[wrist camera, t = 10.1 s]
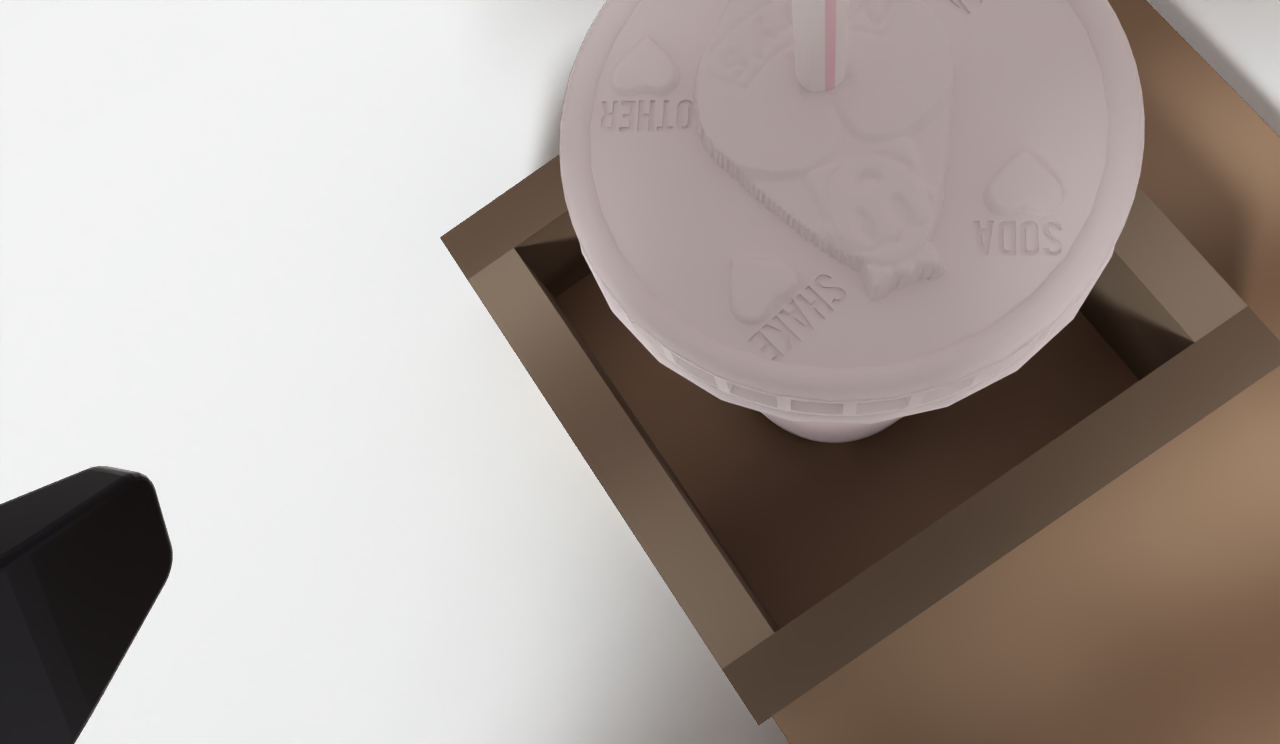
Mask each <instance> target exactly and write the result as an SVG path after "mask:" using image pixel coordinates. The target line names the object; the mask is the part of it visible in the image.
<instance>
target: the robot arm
mask: <svg viewBox="0 0 1280 744" xmlns="http://www.w3.org/2000/svg"><path fill="white" fill-rule="evenodd" d="M172 560H173V551H172V546H171V542H170V539H169V535H168V532H167V528H166V525H165V521H164V518H163V514H162V511H161V508H160V504H159V501H158V497H157V494H156V490H155V488H154V485H153V483H152V482H151V481H150V480H149V479H148V477H147V476H145V475H143V474H141V473H139V472H134V471H129V470H124V469H118V468H113V467H108V466H97V467H92V468H89V469H86V470H84V471H81V472H79V473H76V474H74V475H71V476H69V477H66V478H64V479H61V480H59V481H57V482H54V483H52V484H49V485H47V486H44V487H42V488H39V489H37V490H34V491H32V492H29V493H27V494H25V495H22V496H20V497H17V498H15V499H12V500H10V501H7V502H5V503H2V504H0V744H74V743H75V742H76V740H77V738H78V737H79V735H80V733H81V732H82V730H83V728H84V727H85V725H86V723H87V722H88V720H89V718H90V717H91V715H92V713H93V711H94V710H95V708H96V706H97V704H98V703H99V701H100V699H101V697H102V695H103V694H104V692H105V690H106V688H107V686H108V685H109V683H110V681H111V679H112V678H113V676H114V674H115V672H116V670H117V669H118V667H119V665H120V663H121V661H122V660H123V658H124V656H125V654H126V653H127V651H128V649H129V647H130V645H131V644H132V642H133V640H134V638H135V636H136V635H137V633H138V631H139V629H140V628H141V626H142V624H143V622H144V620H145V619H146V617H147V615H148V613H149V611H150V610H151V608H152V606H153V604H154V603H155V601H156V599H157V597H158V595H159V594H160V592H161V590H162V588H163V587H164V585H165V583H166V581H167V578H168V576H169V573H170V570H171V566H172Z"/></svg>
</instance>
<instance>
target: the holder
mask: <svg viewBox="0 0 1280 744" xmlns="http://www.w3.org/2000/svg"><path fill="white" fill-rule="evenodd" d="M1108 2H1109V4H1110V5H1111V7H1112V9H1113V10H1114V12H1115V13H1116V15H1117V17H1118V19H1119V22H1120V24H1121V26H1122V28H1123V30H1124V32H1125V34H1126V37H1127V39H1128V41H1129V44H1130V47H1131V50H1132V53H1133V56H1134V59H1135V62H1136V65H1137V70H1138V75H1139V79H1140V84H1141V89H1142V96H1143V106H1144V116H1145V129H1144V151H1143V159H1142V166H1141V173H1140V177H1139V181H1138V185H1137V190H1136V194H1135V198H1134V201H1133V204H1132V206H1131V209H1130V212H1129V215H1128V217H1127V220H1126V223H1125V225H1124V227H1123V230H1122V232H1121V234H1120V236H1119V238H1118V240H1117V242H1116V244H1115V247H1114V251H1113V255H1112V257H1111V259H1110V260H1109V262H1108V263H1107V265H1106V267H1105V268H1104V270H1103V272H1102V273H1101V275H1100V277H1099V278H1098V280H1097V281H1096V283H1095V285H1094V286H1093V288H1092V290H1091V291H1090V293H1089V294H1088V296H1087V298H1086V299H1085V301H1084V303H1083V304H1082V306H1081V307H1080V309H1079V311H1078V312H1077V314H1076V316H1075V317H1074V319H1073V320H1072V321H1071V322H1070V323H1069V324H1067V325H1066V326H1065V327H1064V328H1063V329H1062V330H1061V331H1060V332H1059V333H1058V334H1057V335H1055V336H1054V337H1053V338H1052V339H1051V340H1050V341H1049V342H1048V343H1047V344H1046V345H1045V346H1043V347H1042V348H1041V349H1040V350H1039V351H1038V352H1037V353H1036V354H1035V355H1034V356H1033V357H1031V358H1030V359H1029V360H1028V361H1027V362H1026V363H1025V364H1024V365H1023V366H1022V367H1021V368H1019V369H1018V370H1017V371H1016V372H1014V373H1012V374H1010V375H1008V376H1006V377H1004V378H1002V379H1000V380H998V381H996V382H994V383H992V384H991V385H989V386H987V387H985V388H983V389H981V390H979V391H977V392H975V393H973V394H971V395H969V396H967V397H965V398H963V399H961V400H959V401H958V402H956V403H954V404H952V405H950V406H948V407H944V408H940V409H935V410H931V411H926V412H922V413H918V414H913V415H909V416H904V417H902V418H901V419H899V420H898V421H896V422H895V423H894V424H892V425H891V426H889V427H888V428H886V429H884V430H882V431H881V432H879V433H877V434H874V435H872V436H870V437H867V438H863V439H860V440H856V441H851V442H843V443H826V442H817V441H812V440H808V439H805V438H801V437H799V436H796V435H794V434H791V433H789V432H787V431H785V430H784V429H782V428H781V427H779V426H777V425H776V424H775V423H773V422H772V421H771V420H769V419H768V418H767V417H766V416H765V415H764V414H762V413H761V412H760V411H756V410H753V409H750V408H746V407H743V406H740V405H736V404H733V403H729V402H726V401H723V400H720V399H719V398H717V397H715V396H714V395H712V394H710V393H709V392H707V391H706V390H704V389H702V388H701V387H699V386H697V385H696V384H694V383H692V382H691V381H689V380H688V379H686V378H684V377H683V376H681V375H679V374H678V373H676V372H675V371H673V370H671V369H670V368H668V367H666V366H665V365H663V364H662V363H660V362H659V361H658V360H657V359H656V358H655V357H654V356H653V355H652V354H651V353H650V352H649V351H648V350H647V348H646V347H645V346H644V345H643V344H642V343H641V342H640V341H639V340H638V339H637V338H636V337H635V336H634V335H633V333H632V332H631V331H630V330H629V329H628V328H627V327H626V326H625V325H624V324H623V323H622V322H621V321H620V320H619V318H618V317H617V316H616V315H615V314H614V313H613V312H612V311H611V309H610V307H609V305H608V303H607V301H606V299H605V297H604V295H603V293H602V291H601V289H600V287H599V285H598V283H597V281H596V279H595V277H594V275H593V273H592V271H591V269H590V268H589V266H588V264H587V262H586V260H585V258H584V256H583V254H582V252H581V246H580V242H579V240H578V237H577V235H576V232H575V230H574V227H573V225H572V222H571V218H570V215H569V211H568V208H567V204H566V201H565V196H564V190H563V185H562V179H561V170H560V155H558V156H557V157H555V158H554V159H552V160H551V161H549V162H548V163H546V164H545V165H544V166H542V167H541V168H539V169H538V170H536V171H535V172H534V173H532V174H531V175H529V176H528V177H526V178H525V179H523V180H522V181H521V182H519V183H518V184H516V185H515V186H513V187H512V188H511V189H509V190H508V191H506V192H505V193H503V194H502V195H500V196H499V197H498V198H496V199H495V200H493V201H492V202H490V203H489V204H488V205H486V206H485V207H483V208H482V209H480V210H479V211H477V212H476V213H475V214H473V215H472V216H470V217H469V218H467V219H466V220H465V221H463V222H462V223H460V224H459V225H457V226H456V227H454V228H453V229H452V230H450V231H449V232H447V233H446V234H444V235H443V236H442V237H440V238H441V240H442V241H443V243H444V244H445V246H446V247H447V249H448V251H449V252H450V254H451V255H452V257H453V258H454V260H455V261H456V263H457V264H458V266H459V267H460V269H461V270H462V272H463V273H464V275H465V277H466V278H467V280H468V281H469V283H470V284H471V286H472V287H473V289H474V290H475V292H476V293H477V295H478V296H479V298H480V299H481V301H482V303H483V304H484V306H485V307H486V309H487V310H488V312H489V313H490V315H491V316H492V318H493V319H494V321H495V322H496V324H497V326H498V327H499V329H500V330H501V332H502V333H503V335H504V336H505V338H506V339H507V341H508V342H509V344H510V345H511V347H512V348H513V350H514V352H515V353H516V355H517V356H518V358H519V359H520V361H521V362H522V364H523V365H524V367H525V368H526V370H527V371H528V373H529V375H530V376H531V378H532V379H533V381H534V382H535V384H536V385H537V387H538V388H539V390H540V391H541V393H542V394H543V396H544V397H545V399H546V401H547V402H548V404H549V405H550V407H551V408H552V410H553V411H554V413H555V414H556V416H557V417H558V419H559V420H560V422H561V423H562V425H563V427H564V428H565V430H566V431H567V433H568V434H569V436H570V437H571V439H572V440H573V442H574V443H575V445H576V446H577V448H578V450H579V451H580V453H581V454H582V456H583V457H584V459H585V460H586V462H587V463H588V465H589V466H590V468H591V469H592V471H593V472H594V474H595V476H596V477H597V479H598V480H599V482H600V483H601V485H602V486H603V488H604V489H605V491H606V492H607V494H608V495H609V497H610V499H611V500H612V502H613V503H614V505H615V506H616V508H617V509H618V511H619V512H620V514H621V515H622V517H623V518H624V520H625V521H626V523H627V525H628V526H629V528H630V529H631V531H632V532H633V534H634V535H635V537H636V538H637V540H638V541H639V543H640V544H641V546H642V547H643V549H644V551H645V552H646V554H647V555H648V557H649V558H650V560H651V561H652V563H653V564H654V566H655V567H656V569H657V570H658V572H659V574H660V575H661V577H662V578H663V580H664V581H665V583H666V584H667V586H668V587H669V589H670V590H671V592H672V593H673V595H674V596H675V598H676V600H677V601H678V603H679V604H680V606H681V607H682V609H683V610H684V612H685V613H686V615H687V616H688V618H689V619H690V621H691V623H692V624H693V626H694V627H695V629H696V630H697V632H698V633H699V635H700V636H701V638H702V639H703V641H704V642H705V644H706V645H707V647H708V649H709V650H710V652H711V653H712V655H713V656H714V658H715V659H716V661H717V662H718V664H719V665H720V667H721V668H722V670H723V671H724V673H725V675H726V676H727V678H728V679H729V681H730V682H731V684H732V685H733V687H734V688H735V690H736V691H737V693H738V694H739V696H740V698H741V699H742V701H743V702H744V704H745V705H746V707H747V708H748V710H749V711H750V713H751V714H752V716H753V717H754V719H755V720H756V722H757V724H758V725H760V724H761V723H763V722H764V721H766V720H767V719H768V718H770V717H771V716H772V717H773V719H774V720H775V722H776V723H777V725H778V726H779V728H780V729H781V731H782V732H783V734H784V735H785V737H786V738H787V740H788V741H789V743H790V744H1280V137H1279V136H1278V135H1277V134H1276V133H1275V132H1274V131H1273V130H1272V129H1271V128H1270V127H1269V126H1268V125H1267V124H1266V123H1265V122H1264V120H1263V119H1262V118H1261V117H1260V116H1259V115H1258V114H1257V113H1256V112H1255V111H1254V110H1253V109H1252V108H1251V107H1250V106H1249V105H1248V104H1247V103H1246V102H1245V101H1244V100H1243V99H1242V98H1241V97H1240V96H1239V95H1238V94H1237V93H1236V92H1235V91H1234V90H1233V89H1232V88H1231V87H1230V86H1229V85H1228V84H1227V83H1226V82H1225V81H1224V80H1223V79H1222V78H1221V77H1220V76H1219V75H1218V74H1217V73H1216V72H1215V71H1214V69H1213V68H1212V67H1211V66H1210V65H1209V64H1208V63H1207V62H1206V61H1205V60H1204V59H1203V58H1202V57H1201V56H1200V55H1199V54H1198V53H1197V52H1196V51H1195V50H1194V49H1193V48H1192V47H1191V46H1190V45H1189V44H1188V43H1187V42H1186V41H1185V40H1184V39H1183V38H1182V37H1181V36H1180V35H1179V34H1178V33H1177V32H1176V31H1175V30H1174V29H1173V28H1172V27H1171V26H1170V25H1169V24H1168V23H1167V22H1166V21H1165V20H1164V18H1163V17H1162V16H1161V15H1160V14H1159V13H1158V12H1157V11H1156V10H1155V9H1154V8H1153V7H1152V6H1151V5H1150V4H1149V3H1148V2H1147V1H1146V0H1108Z"/></svg>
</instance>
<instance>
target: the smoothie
mask: <svg viewBox="0 0 1280 744" xmlns="http://www.w3.org/2000/svg"><path fill="white" fill-rule="evenodd" d="M1144 129H1145V116H1144V106H1143V96H1142V89H1141V84H1140V79H1139V75H1138V70H1137V65H1136V62H1135V59H1134V56H1133V53H1132V50H1131V47H1130V44H1129V41H1128V39H1127V37H1126V34H1125V32H1124V30H1123V28H1122V26H1121V24H1120V22H1119V19H1118V17H1117V15H1116V13H1115V12H1114V10H1113V9H1112V7H1111V5H1110V4H1109V2H1108V0H607V1H606V3H605V4H604V5H603V7H602V8H601V10H600V12H599V13H598V15H597V17H596V18H595V20H594V22H593V23H592V25H591V27H590V29H589V30H588V32H587V35H586V37H585V39H584V41H583V43H582V45H581V47H580V49H579V52H578V54H577V57H576V60H575V62H574V65H573V68H572V71H571V74H570V77H569V81H568V85H567V89H566V93H565V97H564V101H563V108H562V115H561V122H560V141H559V155H560V170H561V179H562V185H563V190H564V196H565V201H566V204H567V208H568V211H569V215H570V218H571V222H572V225H573V227H574V230H575V232H576V235H577V237H578V240H579V242H580V246H581V252H582V254H583V256H584V258H585V260H586V262H587V264H588V266H589V268H590V269H591V271H592V273H593V275H594V277H595V279H596V281H597V283H598V285H599V287H600V289H601V291H602V293H603V295H604V297H605V299H606V301H607V303H608V305H609V307H610V309H611V311H612V312H613V313H614V314H615V315H616V316H617V317H618V318H619V320H620V321H621V322H622V323H623V324H624V325H625V326H626V327H627V328H628V329H629V330H630V331H631V332H632V333H633V335H634V336H635V337H636V338H637V339H638V340H639V341H640V342H641V343H642V344H643V345H644V346H645V347H646V348H647V350H648V351H649V352H650V353H651V354H652V355H653V356H654V357H655V358H656V359H657V360H658V361H659V362H660V363H662V364H663V365H665V366H666V367H668V368H670V369H671V370H673V371H675V372H676V373H678V374H679V375H681V376H683V377H684V378H686V379H688V380H689V381H691V382H692V383H694V384H696V385H697V386H699V387H701V388H702V389H704V390H706V391H707V392H709V393H710V394H712V395H714V396H715V397H717V398H719V399H720V400H723V401H726V402H729V403H733V404H736V405H740V406H743V407H746V408H750V409H753V410H756V411H760V412H761V413H762V414H764V415H765V416H766V417H767V418H768V419H769V420H771V421H772V422H773V423H775V424H776V425H777V426H779V427H781V428H782V429H784V430H785V431H787V432H789V433H791V434H794V435H796V436H799V437H801V438H805V439H808V440H812V441H817V442H826V443H843V442H851V441H856V440H860V439H863V438H867V437H870V436H872V435H874V434H877V433H879V432H881V431H882V430H884V429H886V428H888V427H889V426H891V425H892V424H894V423H895V422H896V421H898V420H899V419H901V418H902V417H904V416H909V415H913V414H918V413H922V412H926V411H931V410H935V409H940V408H944V407H948V406H950V405H952V404H954V403H956V402H958V401H959V400H961V399H963V398H965V397H967V396H969V395H971V394H973V393H975V392H977V391H979V390H981V389H983V388H985V387H987V386H989V385H991V384H992V383H994V382H996V381H998V380H1000V379H1002V378H1004V377H1006V376H1008V375H1010V374H1012V373H1014V372H1016V371H1017V370H1018V369H1019V368H1021V367H1022V366H1023V365H1024V364H1025V363H1026V362H1027V361H1028V360H1029V359H1030V358H1031V357H1033V356H1034V355H1035V354H1036V353H1037V352H1038V351H1039V350H1040V349H1041V348H1042V347H1043V346H1045V345H1046V344H1047V343H1048V342H1049V341H1050V340H1051V339H1052V338H1053V337H1054V336H1055V335H1057V334H1058V333H1059V332H1060V331H1061V330H1062V329H1063V328H1064V327H1065V326H1066V325H1067V324H1069V323H1070V322H1071V321H1072V320H1073V319H1074V317H1075V316H1076V314H1077V312H1078V311H1079V309H1080V307H1081V306H1082V304H1083V303H1084V301H1085V299H1086V298H1087V296H1088V294H1089V293H1090V291H1091V290H1092V288H1093V286H1094V285H1095V283H1096V281H1097V280H1098V278H1099V277H1100V275H1101V273H1102V272H1103V270H1104V268H1105V267H1106V265H1107V263H1108V262H1109V260H1110V259H1111V257H1112V255H1113V251H1114V247H1115V244H1116V242H1117V240H1118V238H1119V236H1120V234H1121V232H1122V230H1123V227H1124V225H1125V223H1126V220H1127V217H1128V215H1129V212H1130V209H1131V206H1132V204H1133V201H1134V198H1135V194H1136V190H1137V185H1138V181H1139V177H1140V173H1141V166H1142V159H1143V151H1144Z"/></svg>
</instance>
